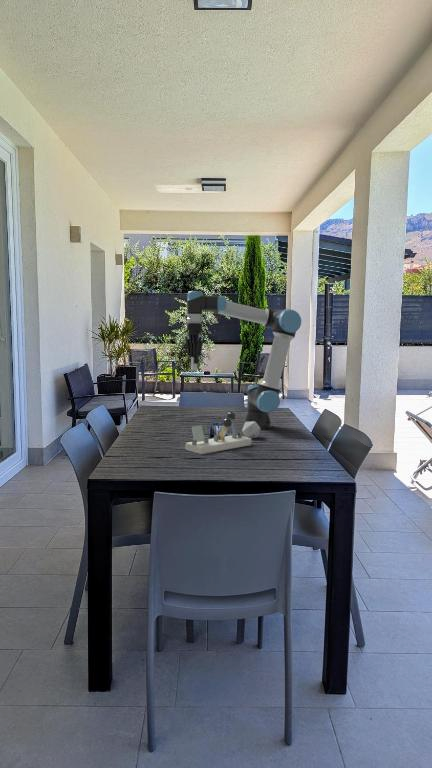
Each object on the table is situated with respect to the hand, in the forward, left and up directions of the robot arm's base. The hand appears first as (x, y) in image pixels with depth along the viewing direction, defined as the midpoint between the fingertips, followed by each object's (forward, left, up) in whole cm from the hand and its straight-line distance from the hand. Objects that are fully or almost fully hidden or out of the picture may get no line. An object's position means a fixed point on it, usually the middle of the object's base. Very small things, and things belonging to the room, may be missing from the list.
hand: (194, 369), depth 277 cm
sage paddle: (-1, +37, -29) cm, 48 cm away
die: (-28, +10, -33) cm, 44 cm away
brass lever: (-10, +31, -29) cm, 44 cm away
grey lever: (-19, +25, -29) cm, 43 cm away
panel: (-10, +31, -32) cm, 46 cm away
